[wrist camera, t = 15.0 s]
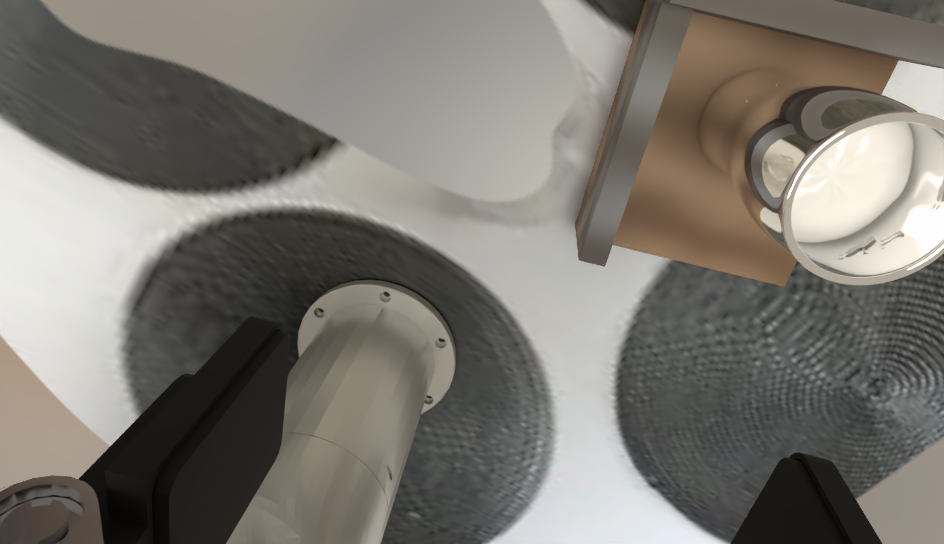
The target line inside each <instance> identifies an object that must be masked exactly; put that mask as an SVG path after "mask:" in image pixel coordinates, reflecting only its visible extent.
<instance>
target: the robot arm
mask: <svg viewBox="0 0 944 544" xmlns="http://www.w3.org/2000/svg"><path fill="white" fill-rule="evenodd" d="M386 292H387V293H389V294H387V293H386ZM441 338H442V339H441ZM290 344H291V336H290V334H289V333H285V332H283V327H282V324H281V323H278V322H274V321H270V320H266V319H262V318H258V317H254V316H252V317H249V318H248V319H247V320H246V321H245V322H244V323H243V324H242V325H241V326H240V327H239V328H238V329H237V330H236V331H235V333H234V334H233V335H232V336H231V337H230V338H229V339H228V340H227V341H226V342H225V343H224V344H223V345H222V346H221V347H220V348H219V350H218V351H217V352H216V353H215V354H214V355H213V356H212V357H211V358H210V359H209V360H208V361H207V362H206V363H205V364H204V365H203V367H202V368H201V369H200V370H199V371H198V372H197V373H196V374H195V375H190V374H184V375H181V376H180V377H179V378H177V379H176V380H175V381H174V382H173V383H172V384H171V385H170V386H169V387H168V388H167V389H166V390H165V391H164V392H163V393H162V394H161V395H160V396H159V397H158V398H157V399H156V400H155V401H154V402H153V403H152V404H151V406H150V407H149V408H148V409H147V410H146V411H145V412H144V413H143V414H142V415H141V416H140V417H139V418H138V419H137V420H136V421H135V422H134V423H133V424H132V425H131V426H130V427H129V428H128V429H127V430H126V431H125V432H124V433H123V434H122V435H121V436H120V437H119V438H118V439H117V440H116V441H115V442H114V443H113V444H112V445H111V446H110V447H109V448H108V450H106V452H105V453H104V454H103V455H102V456H101V457H100V458H99V459H98V460H97V461H96V462H95V463H94V464H93V465H92V466H91V467H90V468H89V469H88V470H87V471H86V472H85V473H84V474H83V475H82V476H81V477H80V478H79V479H75V478H72V477H67V476H46V477H39V478H32V479H30V480H27V481H23V482H20V483H17V484H13V485H9V486H6V487H3V488H0V544H381V541H382V538H383V534H384V531H385V528H386V524H387V521H388V518H389V515H390V512H391V509H392V506H393V502H394V499H395V496H396V493H397V490H398V486H399V483H400V480H401V477H402V473H403V470H404V467H405V464H406V461H407V457H408V454H409V451H410V448H411V445H412V441H413V438H414V435H415V432H416V429H417V425H418V422H419V419H420V416H421V414H423V413H425V412H426V411H428V410H429V409H431V408H433V407H434V406H435V405H436V404H437V403H438V402H439V401H440V400H441V399H442V398H443V397H444V395H445V394H446V392H447V391H448V389H449V387H450V385H451V382H452V379H453V377H454V372H455V367H456V347H455V343H454V338H453V336H452V333H451V331H450V329H449V327H448V325H447V323H446V322H445V320H444V319H443V317H442V316H441V315H440V313H439V312H438V311H437V310H436V309H435V308H434V307H433V306H432V305H431V304H430V303H429V302H428V301H426V300H425V299H424V298H422V297H421V296H419V295H418V294H416V293H415V292H413V291H411V290H409V289H406V288H404V287H402V286H400V285H396V284H393V283H389V282H386V281H378V280H356V281H351V282H347V283H343V284H340V285H338V286H336V287H334V288H332V289H330V290H328V291H326V292H325V293H324V294H323V295H321V296H320V297H319V298H317V300H316V301H315V302H314V303H313V304H312V306H311V307H310V308H309V310H308V311H307V313H306V314H305V316H304V317H303V319H302V322H301V325H300V328H299V331H298V341H297V346H298V354H299V360H298V361H297V362H296V364H295V365H294V367H293V368H292V370H291V371H290V372H289V374H288V367H289V356H290ZM731 544H882V542H881V541H880V539H879V537H878V536H877V534H876V533H875V531H874V529H873V528H872V526H871V524H870V523H869V521H868V519H867V518H866V516H865V515H864V513H863V511H862V509H861V508H860V506H859V504H858V503H857V501H856V499H855V498H854V496H853V494H852V493H851V491H850V489H849V488H848V486H847V484H846V483H845V481H844V480H843V478H842V476H841V475H840V473H839V471H838V470H837V468H836V466H835V465H834V464H833V463H832V462H831V461H829V460H826V459H822V458H818V457H814V456H810V455H806V454H802V453H794V454H792V455H791V456H790V457H789V458H783V459H781V460H780V461H779V463H778V464H777V466H776V468H775V469H774V471H773V473H772V474H771V476H770V478H769V480H768V481H767V483H766V485H765V486H764V488H763V490H762V491H761V493H760V495H759V497H758V498H757V500H756V502H755V503H754V505H753V507H752V508H751V510H750V512H749V513H748V515H747V517H746V519H745V520H744V522H743V524H742V525H741V527H740V529H739V530H738V532H737V534H736V536H735V537H734V539H733V541H732V542H731Z"/></svg>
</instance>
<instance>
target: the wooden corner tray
mask: <svg viewBox="0 0 944 544" xmlns="http://www.w3.org/2000/svg"><path fill="white" fill-rule="evenodd" d="M899 60H900V61H905V62H911V63H916V64H921V65H927V66H932V67H937V68H943V69H944V26H941V25H937V24H933V23H928V22H924V21H920V20H916V19H911V18H907V17H903V16H899V15H894V14H890V13H886V12H881V11H877V10H873V9H869V8H864V7H860V6H856V5H852V4H847V3H843V2H839V1H835V0H645V3H644V6H643V9H642V13H641V16H640V19H639V22H638V25H637V29H636V32H635V35H634V38H633V41H632V45H631V48H630V51H629V54H628V57H627V61H626V64H625V67H624V70H623V74H622V77H621V80H620V83H619V86H618V90H617V93H616V96H615V99H614V102H613V106H612V109H611V112H610V115H609V118H608V122H607V125H606V128H605V131H604V135H603V138H602V141H601V144H600V147H599V151H598V154H597V157H596V160H595V163H594V167H593V170H592V173H591V176H590V179H589V183H588V186H587V189H586V192H585V196H584V199H583V202H582V205H581V208H580V212H579V215H578V218H577V221H576V224H575V228H576V238H577V247H578V257H579V260H580V261H584V262H588V263H592V264H596V265H601V266H605V265H606V262H607V259H608V256H609V253H610V250H611V247H612V245H616V246H620V247H624V248H628V249H632V250H636V251H640V252H644V253H649V254H653V255H657V256H661V257H665V258H669V259H673V260H677V261H681V262H685V263H689V264H694V265H698V266H702V267H706V268H710V269H714V270H718V271H722V272H726V273H730V274H734V275H739V276H743V277H747V278H751V279H755V280H759V281H763V282H767V283H771V284H775V285H779V286H785V284H786V282H787V280H788V278H789V276H790V274H791V272H792V270H793V268H794V266H795V264H796V262H797V259H795V258H794V257H793V256H791V255H790V254H789V253H787V252H786V251H785V250H784V249H782V248H781V247H780V246H779V245H777V244H776V243H775V242H774V241H773V240H772V239H771V238H770V237H769V236H768V235H767V234H766V233H765V232H763V231H762V230H761V229H760V227H759V226H758V225H757V224H756V223H755V221H754V220H753V219H752V218H751V216H750V215H749V214H748V212H747V211H746V209H745V208H744V206H743V204H742V202H741V200H740V198H739V196H738V194H737V192H736V189H735V186H734V183H733V180H732V177H731V174H729V173H727V172H724V171H722V170H721V169H719V168H718V167H716V166H715V165H714V164H713V163H712V162H711V161H710V160H709V159H708V158H707V156H706V155H705V153H704V151H703V149H702V147H701V143H700V139H699V124H700V119H701V115H702V113H703V110H704V108H705V106H706V104H707V102H708V101H709V99H710V98H711V97H712V95H713V94H714V93H715V92H716V91H717V90H718V89H719V88H720V87H721V86H722V85H723V84H725V83H726V82H728V81H729V80H731V79H733V78H734V77H737V76H739V75H741V74H744V73H747V72H751V71H758V70H769V71H775V72H779V73H782V74H784V75H786V76H788V77H790V78H792V79H793V80H794V81H796V82H797V83H798V84H799V85H800V86H812V85H843V86H851V87H856V88H861V89H865V90H870V91H874V92H877V93H880V94H882V92H883V90H884V88H885V86H886V84H887V82H888V80H889V78H890V76H891V74H892V72H893V70H894V68H895V66H896V64H897V62H898V61H899Z"/></svg>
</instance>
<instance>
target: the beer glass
mask: <svg viewBox="0 0 944 544" xmlns="http://www.w3.org/2000/svg"><path fill="white" fill-rule="evenodd" d="M699 139H700V143H701V147H702V149H703V151H704V153H705V155H706V156H707V158H708V159H709V160H710V161H711V162H712V163H713V164H714V165H715V166H716V167H718V168H719V169H721V170H722V171H724V172H727V173H729V174H731V177H732V180H733V183H734V186H735V189H736V192H737V194H738V196H739V198H740V200H741V202H742V204H743V206H744V208H745V209H746V211H747V212H748V214H749V215H750V216H751V218H752V219H753V220H754V221H755V223H756V224H757V225H758V226H759V227H760V229H761V230H762V231H763V232H765V233H766V234H767V235H768V236H769V237H770V238H771V239H772V240H773V241H774V242H775V243H776V244H777V245H779V246H780V247H781V248H782V249H784V250H785V251H786V252H787V253H789V254H790V255H791V256H793V257H794V258H795V259H797V261H798V262H799V263H800V264H801V265H802V266H804V267H805V268H806V269H807V270H809V271H810V272H812V273H813V274H815V275H817V276H819V277H821V278H824V279H826V280H829V281H832V282H836V283H840V284H847V285H873V284H879V283H885V282H889V281H893V280H896V279H899V278H902V277H905V276H907V275H909V274H912V273H914V272H916V271H918V270H920V269H922V268H923V267H925V266H927V265H928V264H930V263H931V262H933V261H934V260H936V259H937V258H938V257H940V256H941V255H942V254H943V253H944V120H942V119H939V118H937V117H934V116H931V115H928V114H926V113H924V112H922V111H920V110H918V109H916V108H914V107H912V106H910V105H908V104H906V103H904V102H901V101H899V100H897V99H894V98H891V97H888V96H886V95H883V94H880V93H877V92H874V91H870V90H865V89H861V88H856V87H851V86H843V85H812V86H800V85H799V84H798V83H797V82H796V81H794V80H793V79H792V78H790V77H788V76H786V75H784V74H782V73H779V72H775V71H769V70H758V71H751V72H747V73H744V74H741V75H739V76H737V77H734V78H733V79H731V80H729V81H728V82H726V83H725V84H723V85H722V86H721V87H720V88H719V89H718V90H717V91H716V92H715V93H714V94H713V95H712V97H711V98H710V99H709V101H708V102H707V104H706V106H705V108H704V110H703V113H702V115H701V119H700V124H699Z"/></svg>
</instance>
